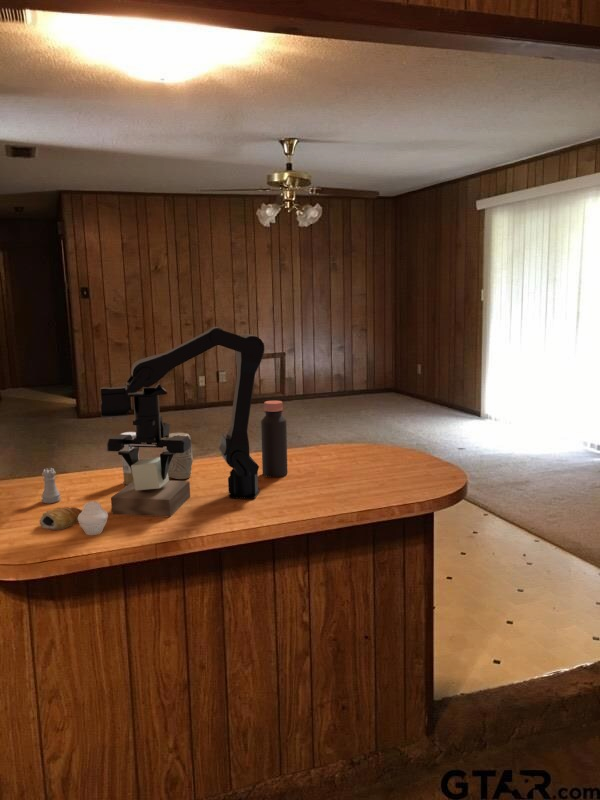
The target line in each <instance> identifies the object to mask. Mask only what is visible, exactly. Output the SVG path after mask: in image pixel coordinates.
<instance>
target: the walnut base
mask: <svg viewBox="0 0 600 800" xmlns="http://www.w3.org/2000/svg"><path fill="white" fill-rule="evenodd" d="M190 485H191V483H190V480H170V479H169V481H168V482H167V483H165V484H164V485H163V486H162V487H161V488H157V489H146V490H136V489H135V484H134V481H132V482H131V483H130V484H128V485H126V486H124V487H123V488H122V489H120V490H119V491H118V492H116V493H115V494H113V495H112V496H111V497H110V503H111V514H112V515H118V516H120V515H123V516H140V517H141V516H146V517H165V518H166V517H167V518H171V517H172V516H173V515H174V514H175V513H176V512H177V511H178V510H179V509H180V508H181V507H182V506H183V505H184V504H185V503H186V502H187V501H188V499H190V498H191V486H190Z"/></svg>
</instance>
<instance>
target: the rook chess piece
mask: <svg viewBox="0 0 600 800" xmlns="http://www.w3.org/2000/svg"><path fill="white" fill-rule="evenodd" d="M56 474H57V472H56V470H55V468H52V467H49V468H48V467H46V468H43V470H42V473H41V475H42V476H43V479H42V480H43V482H44V483H43V484H44V487H43V491H42V494H41V498H42V499H41V502H42V503H43V504H55V503H58V502H59V501H61V499H62V497H61V492H60V491H59V490H58V488H57V486H56V477H55V475H56Z"/></svg>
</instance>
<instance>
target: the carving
mask: <svg viewBox="0 0 600 800" xmlns="http://www.w3.org/2000/svg"><path fill="white" fill-rule="evenodd" d="M173 436H188V437H189V438H190V440H191V439H192V438H191V435H189V433H186V432H173V433H169V437H165V440H169V439H170V438H172V437H173ZM192 449H193V448H192V446H191V447H190V448H189V449H188V450H187V451H185V452H184V453H176V454H175V455H173V457H172V460H171V462H170V465H169V469H168V477H169V479H175V480H186V479H189V478H190V477H191V474H192V471H193V468H192V466H193V462H194V460H193V450H192Z"/></svg>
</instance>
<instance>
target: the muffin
mask: <svg viewBox="0 0 600 800" xmlns="http://www.w3.org/2000/svg"><path fill="white" fill-rule="evenodd" d="M82 507H83V509H81V510H82V512H81V513H80V514H79V516H78V521H79V522H78V523H79V526H80V527H81V529H82V530H83V531H84V533H85V534H86V535H88V536H97V535H99V534H101V533H102V532H103V530H104V528H105V526H106V525H107V524H106V523H107V521H108V518H109V514H108V512H107V511H106V510H104V508H103V507H102V506H101V503H100V502H98V501H88V502H86V503H85V504H84V505H83V506H82Z"/></svg>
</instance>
